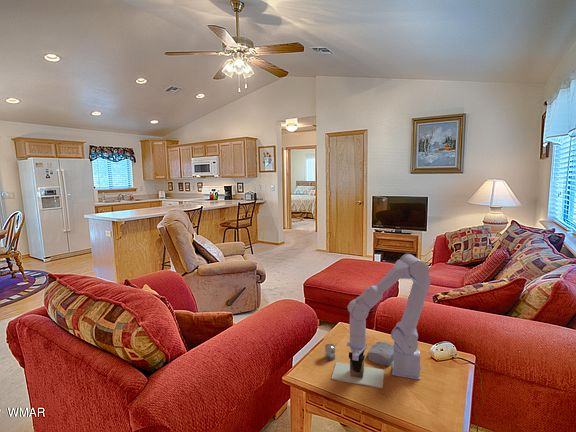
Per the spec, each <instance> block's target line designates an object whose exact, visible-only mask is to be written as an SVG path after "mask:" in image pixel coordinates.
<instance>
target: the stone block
mask: <svg viewBox="0 0 576 432" xmlns="http://www.w3.org/2000/svg"><path fill="white" fill-rule="evenodd" d="M367 357H368V359H369V360H370V361H371V362H374V363H375V364H376V363H377V364H381V365H384V366H386V367H390V366H391V364H392V362H394V344H393V343H390V342H386V341H377V342H375V344H373V345H372V346H371V347H370V348H369V350H368V352H367Z"/></svg>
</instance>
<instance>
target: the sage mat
mask: <svg viewBox="0 0 576 432" xmlns="http://www.w3.org/2000/svg"><path fill="white" fill-rule="evenodd" d="M384 374H385V370H384V369H382V368H375V367H370V366H369V367H368V366H364V374H363V378H359V377H353V376H350V363H346V362H345V363H344V362H338V361H336V362H335V364H334V368H333V371H332V375H331V378H330V379H331V380H334V381H338V382H344V383H349V384H350V383H351V384H355V385H360V386H361V385H362V386H365V387H366V386H367V387H373V388H377V389H383V388H384Z"/></svg>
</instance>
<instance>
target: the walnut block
mask: <svg viewBox="0 0 576 432" xmlns="http://www.w3.org/2000/svg"><path fill="white" fill-rule="evenodd" d="M364 361H365V359H364V360H363V362H362V365H361V370H360V372H354V369H353V365H352V362H351V360H350V359H349V364H350V376H353V377H359V378H363V374H364V367H365V362H364Z"/></svg>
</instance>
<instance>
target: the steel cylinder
mask: <svg viewBox="0 0 576 432" xmlns="http://www.w3.org/2000/svg"><path fill="white" fill-rule="evenodd" d="M324 354H325V355H324V356H325V360H327V361H331V362H332V361H334V360H336V346H335V344H334V343H326V344H325V345H324Z"/></svg>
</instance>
